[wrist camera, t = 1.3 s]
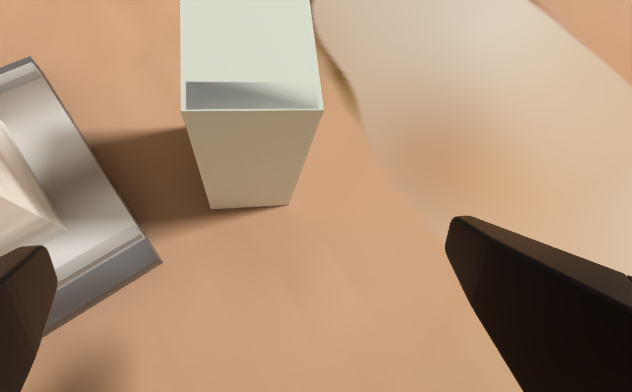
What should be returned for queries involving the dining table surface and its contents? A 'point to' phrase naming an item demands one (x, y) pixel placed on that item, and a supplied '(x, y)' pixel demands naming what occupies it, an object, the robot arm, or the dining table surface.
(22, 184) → the rail board
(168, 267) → the dining table surface
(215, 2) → the block
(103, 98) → the dining table surface
